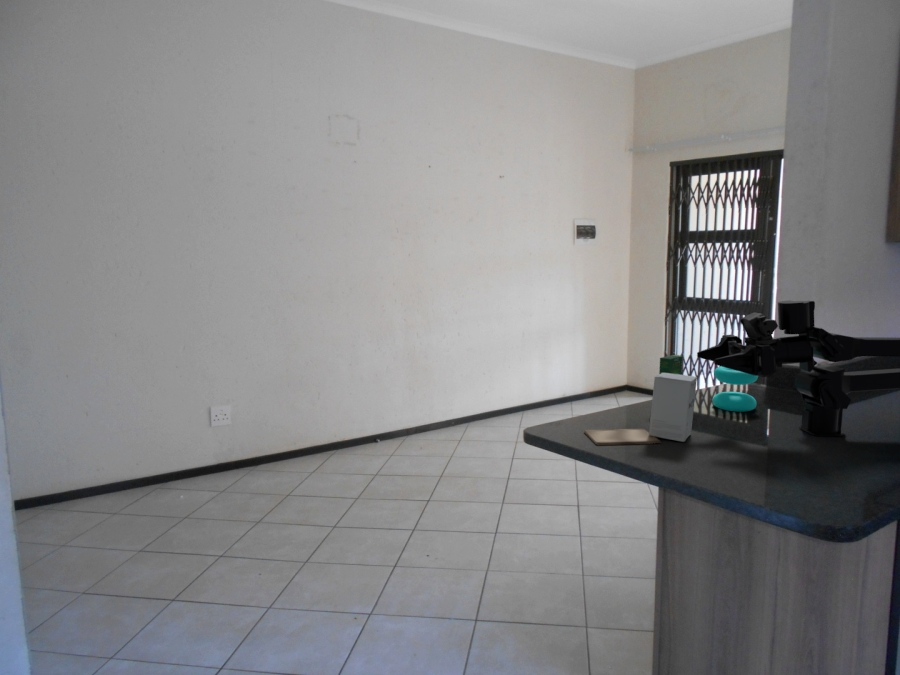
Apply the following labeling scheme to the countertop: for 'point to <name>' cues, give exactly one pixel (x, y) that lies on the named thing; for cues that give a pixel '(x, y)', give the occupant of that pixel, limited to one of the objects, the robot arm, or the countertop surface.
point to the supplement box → (672, 406)
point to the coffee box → (671, 364)
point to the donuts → (734, 399)
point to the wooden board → (621, 436)
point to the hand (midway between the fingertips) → (705, 358)
